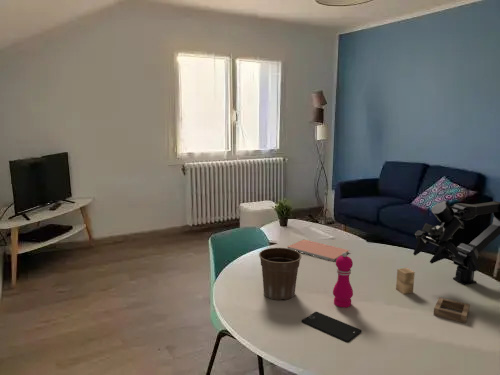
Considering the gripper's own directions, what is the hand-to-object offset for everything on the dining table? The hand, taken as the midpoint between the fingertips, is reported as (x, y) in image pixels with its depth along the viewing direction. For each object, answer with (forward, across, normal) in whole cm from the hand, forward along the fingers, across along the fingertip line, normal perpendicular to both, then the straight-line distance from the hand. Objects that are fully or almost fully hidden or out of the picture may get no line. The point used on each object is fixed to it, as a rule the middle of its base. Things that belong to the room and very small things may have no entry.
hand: (422, 258), depth 159 cm
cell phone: (+44, +15, -25) cm, 52 cm away
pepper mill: (+35, +2, -17) cm, 39 cm away
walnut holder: (+11, +20, +7) cm, 24 cm away
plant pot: (+48, -13, -30) cm, 58 cm away
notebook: (+23, -52, -4) cm, 57 cm away
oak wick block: (+14, 0, +4) cm, 15 cm away
